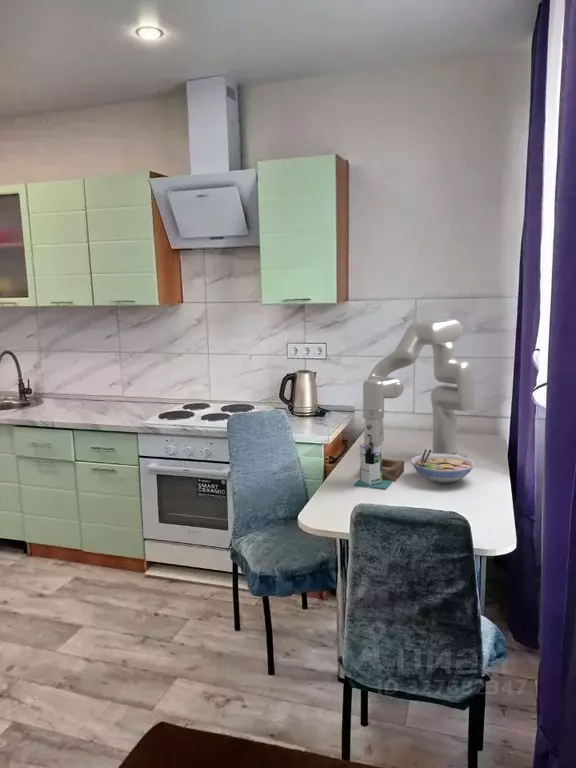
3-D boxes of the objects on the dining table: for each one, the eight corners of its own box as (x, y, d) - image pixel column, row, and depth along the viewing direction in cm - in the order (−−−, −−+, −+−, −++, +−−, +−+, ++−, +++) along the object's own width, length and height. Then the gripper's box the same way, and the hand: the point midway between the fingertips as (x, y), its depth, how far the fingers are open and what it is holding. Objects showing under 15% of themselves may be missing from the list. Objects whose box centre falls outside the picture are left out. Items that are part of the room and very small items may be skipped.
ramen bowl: (471, 494, 208) (472, 471, 206) (405, 487, 216) (405, 465, 214) (476, 473, 231) (476, 453, 230) (415, 468, 239) (416, 448, 238)
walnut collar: (403, 471, 235) (404, 460, 234) (395, 481, 223) (395, 470, 222) (370, 468, 240) (370, 457, 240) (360, 477, 228) (360, 466, 228)
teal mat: (392, 482, 222) (392, 480, 222) (385, 489, 214) (385, 488, 214) (361, 478, 227) (361, 477, 227) (353, 485, 219) (353, 484, 219)
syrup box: (370, 485, 217) (368, 446, 215) (360, 481, 222) (358, 443, 220) (382, 482, 219) (381, 443, 217) (373, 478, 225) (371, 440, 222)
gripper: (376, 419, 207) (376, 467, 210) (389, 410, 223) (389, 455, 225) (356, 417, 210) (356, 465, 213) (370, 408, 226) (370, 453, 228)
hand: (373, 460), depth 219 cm, fingers open, 8 cm apart
